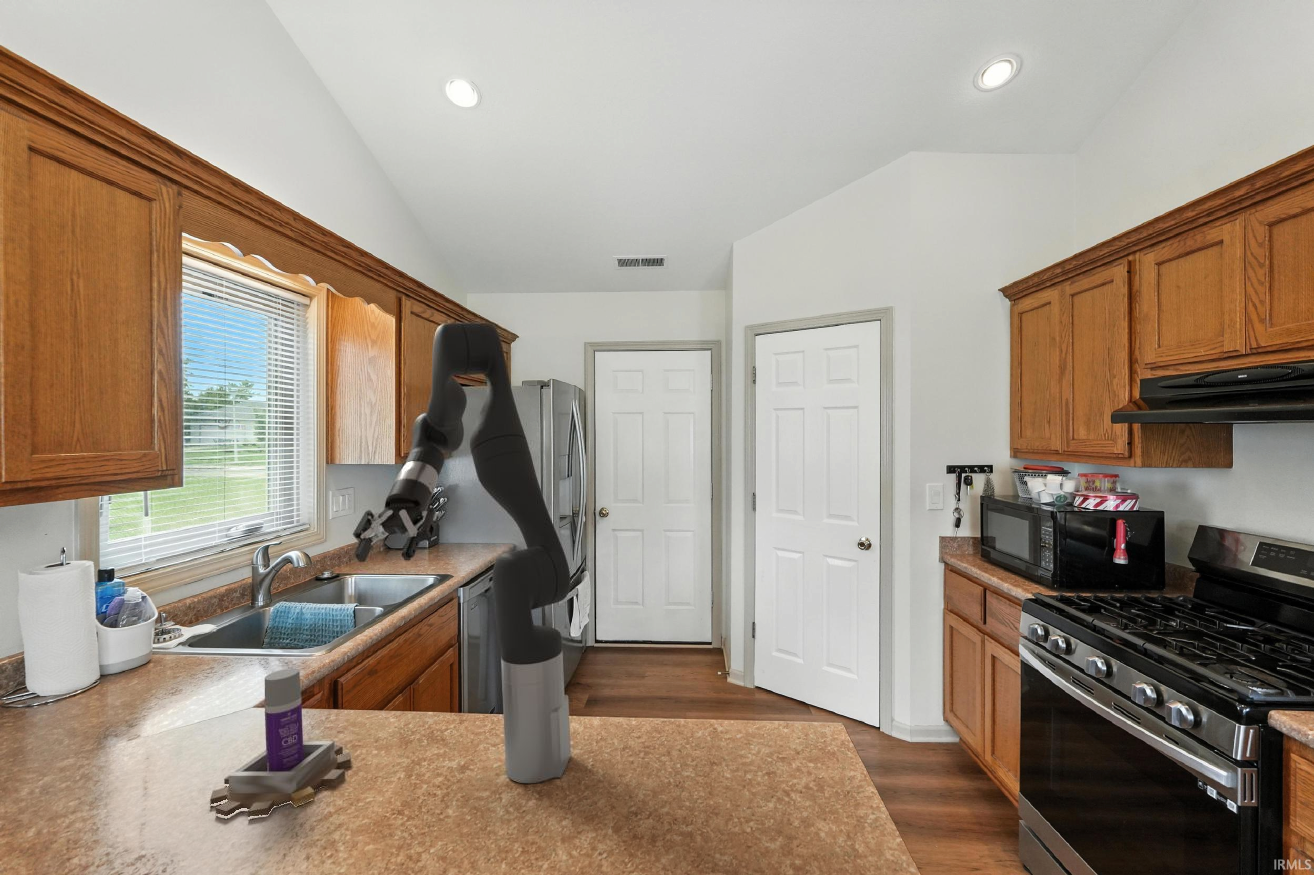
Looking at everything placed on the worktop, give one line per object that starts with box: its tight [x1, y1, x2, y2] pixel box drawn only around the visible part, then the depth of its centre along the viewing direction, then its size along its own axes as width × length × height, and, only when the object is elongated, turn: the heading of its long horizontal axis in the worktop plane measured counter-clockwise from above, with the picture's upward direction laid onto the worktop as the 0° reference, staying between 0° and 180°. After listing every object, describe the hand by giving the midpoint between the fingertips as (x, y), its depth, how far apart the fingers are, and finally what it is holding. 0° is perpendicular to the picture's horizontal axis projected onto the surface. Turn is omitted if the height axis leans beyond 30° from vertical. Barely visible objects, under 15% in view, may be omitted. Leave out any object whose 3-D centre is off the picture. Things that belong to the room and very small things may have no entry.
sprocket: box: [209, 740, 352, 818], centre depth 86 cm, size 18×18×4 cm
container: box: [264, 668, 304, 772], centre depth 86 cm, size 5×5×15 cm
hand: (382, 559), depth 100 cm, fingers open, 8 cm apart
